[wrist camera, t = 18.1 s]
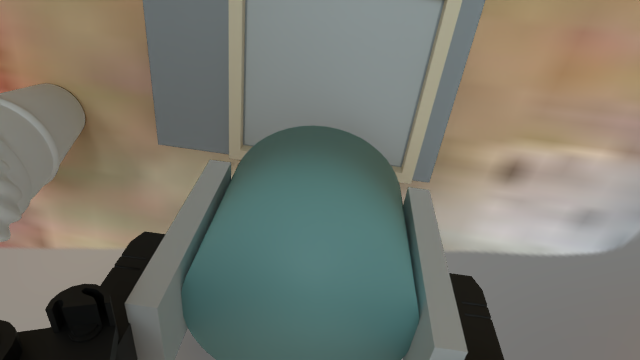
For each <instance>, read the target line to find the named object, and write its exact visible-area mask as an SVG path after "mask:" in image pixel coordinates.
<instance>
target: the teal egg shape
mask: <svg viewBox="0 0 640 360" xmlns="http://www.w3.org/2000/svg"><path fill="white" fill-rule="evenodd" d="M181 298H182V309H183V317H184V319H185V322H186V325H187V327H188V329H189V330H190V332H191V334H192V335H193V337H194V338H195V339H196V341H197V342H198V343H199V344H200V345H201V347H202V348H203V349H205V351H206V352H207V353H209V354H210V355H211V356H212V357H213V358H215V359H216V360H401V359H402V358H403V357H404V356H405V355H406V354H407V352H408V351H409V348H410V346H411V343H412V340H413V337H414V335H415V332H416V329H417V326H418V324H419V311H418V304H417V297H416V291H415V284H414V277H413V270H412V264H411V257H410V250H409V244H408V237H407V230H406V224H405V217H404V210H403V204H402V197H401V190H400V185H399V182H398V179H397V176H396V174H395V172H394V170H393V168H392V166H391V165H390V164H389V162H388V161H387V159H386V158H385V157H384V156H383V155H382V154H381V153H380V152H379V151H378V150H377V149H376V148H375V147H373V146H372V145H371V144H370V143H368V142H366V141H365V140H363V139H362V138H360V137H358V136H356V135H353V134H351V133H349V132H346V131H343V130H340V129H336V128H331V127H326V126H298V127H293V128H288V129H284V130H281V131H278V132H276V133H273V134H271V135H269V136H267V137H265V138H264V139H262V140H261V141H259V142H258V143H256V144H255V145H254V146H253V147H252V148H251V149H250V150H249V151H248V152H247V153H246V154H245V155H244V157H243V158H242V160H241V161H240V163H239V165H238V167H237V169H236V171H235V173H234V175H233V177H232V179H231V182H230V184H229V186H228V188H227V190H226V192H225V194H224V196H223V199H222V201H221V203H220V205H219V207H218V209H217V211H216V213H215V216H214V218H213V220H212V222H211V224H210V226H209V228H208V230H207V233H206V235H205V237H204V239H203V241H202V243H201V245H200V248H199V250H198V252H197V254H196V256H195V258H194V260H193V262H192V265H191V267H190V269H189V271H188V273H187V275H186V278H185V280H184V283H183V286H182V291H181Z"/></svg>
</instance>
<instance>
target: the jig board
mask: <svg viewBox="0 0 640 360" xmlns="http://www.w3.org/2000/svg"><path fill="white" fill-rule="evenodd" d="M484 3H485V0H143V7H144V16H145V25H146V35H147V44H148V53H149V63H150V72H151V81H152V91H153V100H154V109H155V118H156V128H157V137H158V144H159V145H166V146H173V147H180V148H188V149H195V150H202V151H209V152H216V153H223V154H229V159H236V160H242V158H243V157H244V155H245V154H246V153H247V152H248V151H249V150H250V149H251V148H252V147H253V146H254V145H255V144H256V143H258V142H259V141H261V140H262V139H264V138H265V137H267V136H269V135H271V134H273V133H276V132H278V131H281V130H284V129H288V128H293V127H298V126H326V127H331V128H336V129H340V130H343V131H346V132H349V133H351V134H353V135H356V136H358V137H360V138H362V139H363V140H365V141H366V142H368V143H370V144H371V145H372V146H373V147H375V148H376V149H377V150H378V151H379V152H380V153H381V154H382V155H383V156H384V157H385V158H386V159H387V161H388V162H389V164H390V165H391V166H392V168H393V170H394V172H395V174H396V176H397V179H398V182H399V183H406V184H411V182H412V180H414V181H421V182H429V181H430V178H431V175H432V172H433V168H434V165H435V162H436V159H437V155H438V152H439V149H440V146H441V142H442V139H443V136H444V133H445V129H446V126H447V123H448V120H449V116H450V113H451V110H452V107H453V103H454V100H455V97H456V94H457V90H458V87H459V84H460V81H461V77H462V74H463V71H464V68H465V64H466V61H467V58H468V55H469V51H470V48H471V45H472V42H473V39H474V35H475V32H476V29H477V26H478V22H479V19H480V16H481V13H482V9H483V6H484Z"/></svg>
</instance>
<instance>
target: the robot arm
mask: <svg viewBox="0 0 640 360" xmlns="http://www.w3.org/2000/svg"><path fill="white" fill-rule="evenodd" d="M230 182H231V162H224V161H217V160H209V162H208V164H207V166H206V167H205V169H204V171H203V172H202V174H201V176H200V177H199V179H198V181H197V182H196V184H195V186H194V187H193V189H192V191H191V192H190V194H189V196H188V197H187V199H186V201H185V203H184V204H183V206H182V208H181V209H180V211H179V213H178V214H177V216H176V218H175V219H174V221H173V223H172V224H171V226H170V228H169V229H168V231H167V233H166V234H159V233H152V232H143V233H142V234H141V235H139V236H138V237H136V238H135V239H134V240H132V241H131V242H130V243H129V245H128V246H127V248H126V249H125V251H124V252H123V254H122V256H121V257H120V258H119V260H118V261H117V263H116V264H115V267H114V268H112V270H111V271H110V272H109V274H108V275H107V277H106V278H105V280H104V281H103V283H102V284H101V286H98V285H96V284H82V285H77V286H73V287H70V288H68V289H66V290H64V291H62V292H60V293H59V294H58V295H56V296H55V297H54V298H53V299H52V300H51V301H50V302H49V304H48V306H47V307H46V312H47V316H48V318H49V321H50V324H51V327H50V328H45V329H38V330H30V331H23V332H17V331H16V329H15V328H14V327H13V326H12V325H11V324H10V323H9V322H6V321H2V320H0V360H175V358H176V355H177V353H178V350H179V348H180V345H181V343H182V340H183V338H184V336H185V333H186V331H187V328H188V327H187V325H186V322H185V319H184V317H183V309H182V298H181V291H182V286H183V283H184V280H185V278H186V275H187V273H188V271H189V269H190V267H191V265H192V262H193V260H194V258H195V256H196V254H197V252H198V250H199V248H200V245H201V243H202V241H203V239H204V237H205V235H206V233H207V230H208V228H209V226H210V224H211V222H212V220H213V218H214V216H215V213H216V211H217V209H218V207H219V205H220V203H221V201H222V199H223V196H224V194H225V192H226V190H227V188H228V186H229V184H230ZM403 210H404V217H405V224H406V230H407V237H408V244H409V250H410V257H411V264H412V270H413V277H414V284H415V291H416V297H417V304H418V311H419V324H418V326H417V329H416V332H415V335H414V337H413V340H412V343H411V346H410V348H409V351H408V352H407V354H406V355H405V356H404V357H403V360H504V358H503V354H502V352H501V348H500V345H499V342H498V339H497V336H496V332H495V329H494V326H493V322H492V320H491V319H490V318H491V316H490V313H489V310H488V308H487V303H486V300H485V297H484V294H483V291H482V289H481V288H480V287H479V285H478V284H477V283H476V282H475V280H474V279H473V278H472V276H465V275H458V274H451V273H449V271H448V266H447V262H446V258H445V254H444V250H443V245H442V241H441V237H440V233H439V229H438V224H437V220H436V216H435V212H434V208H433V203H432V199H431V195H430V191H429V190H425V189H418V188H411V187H408V190H407V193H406V197H405V201H404V204H403Z"/></svg>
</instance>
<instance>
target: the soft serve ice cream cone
mask: <svg viewBox="0 0 640 360" xmlns="http://www.w3.org/2000/svg"><path fill="white" fill-rule="evenodd" d="M84 125H85V114H84V111H83V108H82V106H81V105H80V103H79V102H78V100H77V99H76V98H75V97H74V96H73V95H72V94H71V93H69V92H68V91H67V90H65V89H63V88H62V87H59V86H56V85H53V84H38V85H34V86H29V87H25V88H21V89H17V90H12V91H8V92H4V93H0V242H2V241H7V240H8V239H10V236H11V234H10V230H9V225H10V224H11V223H13V222H16V221H18V220H20V219H21V218H22V217H21V214H22V213H24V212H25V210H26V209H27V208H28V206H29V204H30V200H31V199H32V198H33V197H34V196H35V195H36V194H37V193H38V192H39V190H40V189H41V188H42V187H43V186H44V185H46V184H47V183H49V182H50V181H51V180H52V179H53V178H54V177H55V175H56V174H57V171H58V168H59V165H60V163H61V162H62V160H63V158H64V157H65V155H66V154H67V152H68V151H69V149H70V148H71V146H72V145H73V143H74V142H75V140H76V139H77V137H78V136H79V134H80V133H81V131H82V130H83V128H84Z"/></svg>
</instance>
